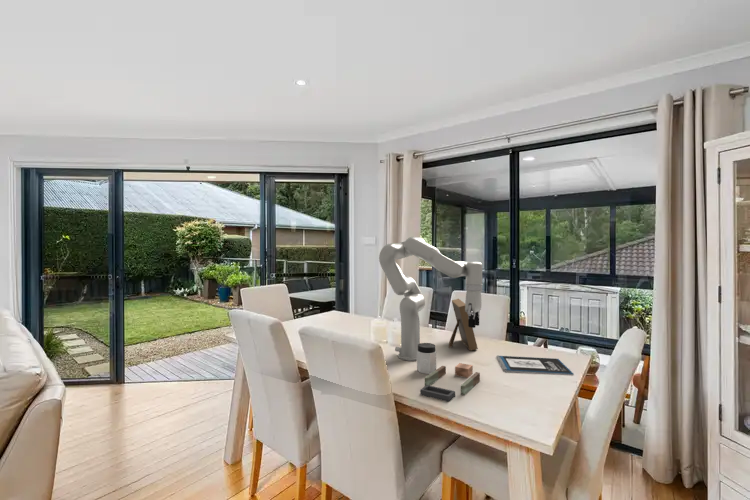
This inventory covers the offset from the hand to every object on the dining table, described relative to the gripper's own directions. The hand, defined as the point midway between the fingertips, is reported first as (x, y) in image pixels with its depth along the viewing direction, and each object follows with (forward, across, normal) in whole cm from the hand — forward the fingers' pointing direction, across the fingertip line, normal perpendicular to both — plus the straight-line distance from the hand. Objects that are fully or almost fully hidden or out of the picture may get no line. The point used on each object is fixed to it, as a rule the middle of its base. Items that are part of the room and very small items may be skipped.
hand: (473, 325), depth 184 cm
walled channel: (+19, +26, 0) cm, 32 cm away
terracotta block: (+20, +13, 0) cm, 23 cm away
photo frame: (+20, -31, -19) cm, 41 cm away
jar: (+20, +18, -16) cm, 31 cm away
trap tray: (+19, +41, 0) cm, 45 cm away
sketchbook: (+20, -16, +23) cm, 34 cm away
